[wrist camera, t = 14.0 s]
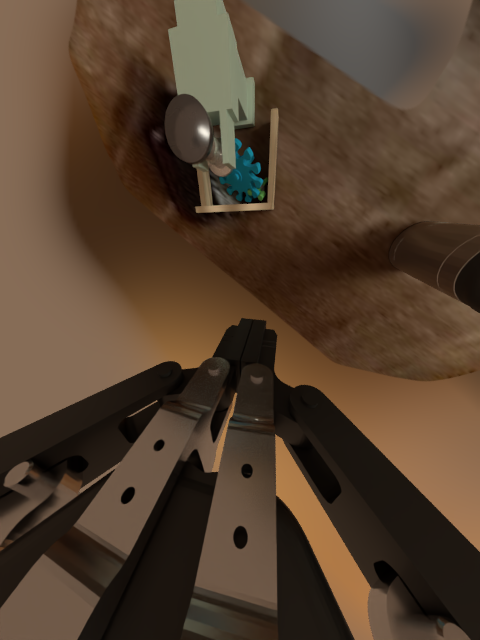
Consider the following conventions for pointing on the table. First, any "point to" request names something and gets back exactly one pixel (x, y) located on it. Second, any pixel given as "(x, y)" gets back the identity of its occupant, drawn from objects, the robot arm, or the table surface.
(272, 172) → the tan open box
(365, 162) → the table surface
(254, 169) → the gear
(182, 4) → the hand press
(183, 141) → the ram
